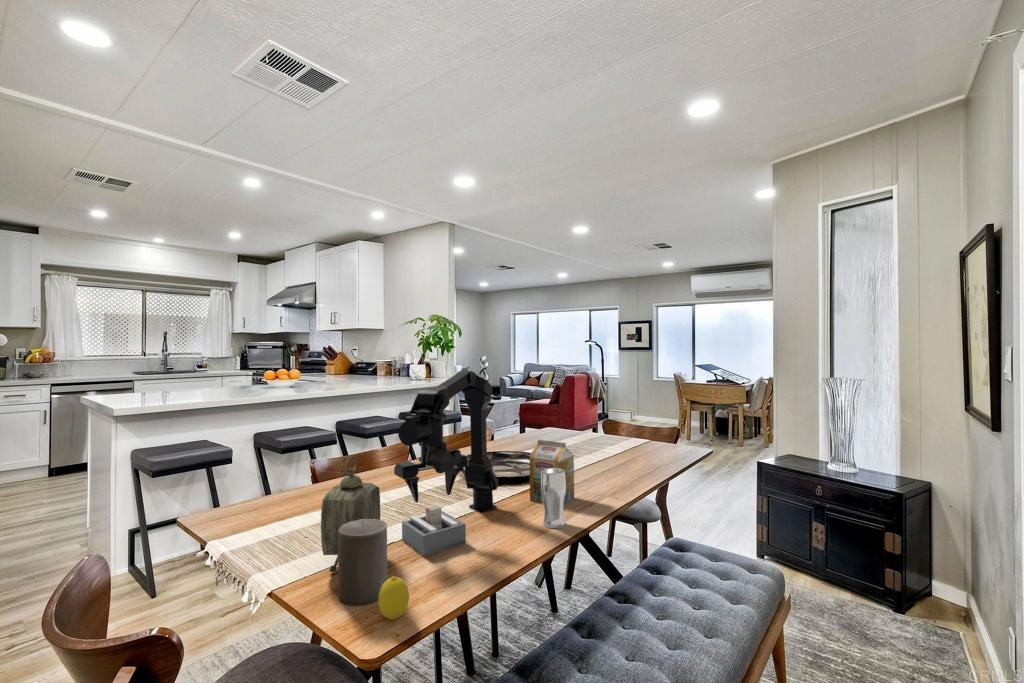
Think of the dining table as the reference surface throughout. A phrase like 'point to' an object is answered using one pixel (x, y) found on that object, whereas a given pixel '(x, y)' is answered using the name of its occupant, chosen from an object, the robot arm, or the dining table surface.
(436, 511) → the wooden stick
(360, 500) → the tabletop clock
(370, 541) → the pillar candle
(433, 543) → the grey divided tray
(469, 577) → the dining table surface
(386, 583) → the lemon
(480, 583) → the dining table surface
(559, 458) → the milk carton
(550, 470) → the beer glass
